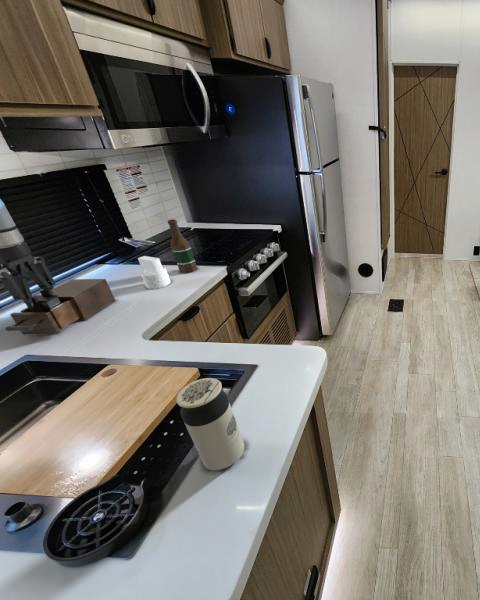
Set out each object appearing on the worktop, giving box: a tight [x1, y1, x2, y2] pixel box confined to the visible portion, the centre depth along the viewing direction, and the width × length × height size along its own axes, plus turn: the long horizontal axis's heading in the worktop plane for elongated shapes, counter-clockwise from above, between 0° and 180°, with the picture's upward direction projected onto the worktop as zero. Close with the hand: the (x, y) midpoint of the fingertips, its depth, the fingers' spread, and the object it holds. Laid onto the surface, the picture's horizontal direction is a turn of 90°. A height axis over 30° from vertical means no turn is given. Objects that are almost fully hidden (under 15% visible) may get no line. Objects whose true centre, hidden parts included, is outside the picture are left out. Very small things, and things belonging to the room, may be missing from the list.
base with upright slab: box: [137, 255, 172, 290], centre depth 141 cm, size 9×9×12 cm
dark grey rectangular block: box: [22, 294, 62, 314], centre depth 110 cm, size 4×7×5 cm, turn 91°
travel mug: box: [175, 377, 245, 471], centre depth 66 cm, size 8×8×18 cm
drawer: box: [5, 299, 82, 336], centre depth 110 cm, size 18×11×8 cm, turn 1°
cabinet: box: [51, 278, 117, 321], centre depth 122 cm, size 15×13×10 cm
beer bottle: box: [167, 219, 198, 274], centre depth 151 cm, size 8×8×24 cm
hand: (48, 311), depth 111 cm, fingers closed on dark grey rectangular block, 4 cm apart
